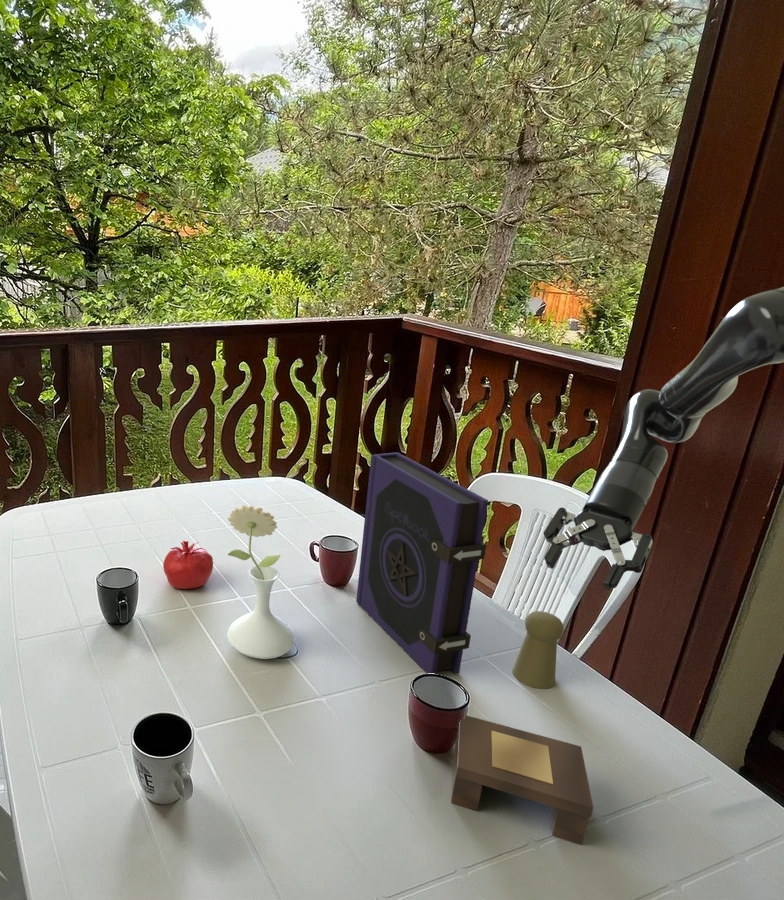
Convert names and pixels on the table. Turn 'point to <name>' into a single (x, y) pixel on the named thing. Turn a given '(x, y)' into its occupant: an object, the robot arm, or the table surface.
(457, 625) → the book
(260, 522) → the flower in vase
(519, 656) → the cork
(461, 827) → the table surface
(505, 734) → the shelf
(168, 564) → the pomegranate
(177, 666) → the table surface
